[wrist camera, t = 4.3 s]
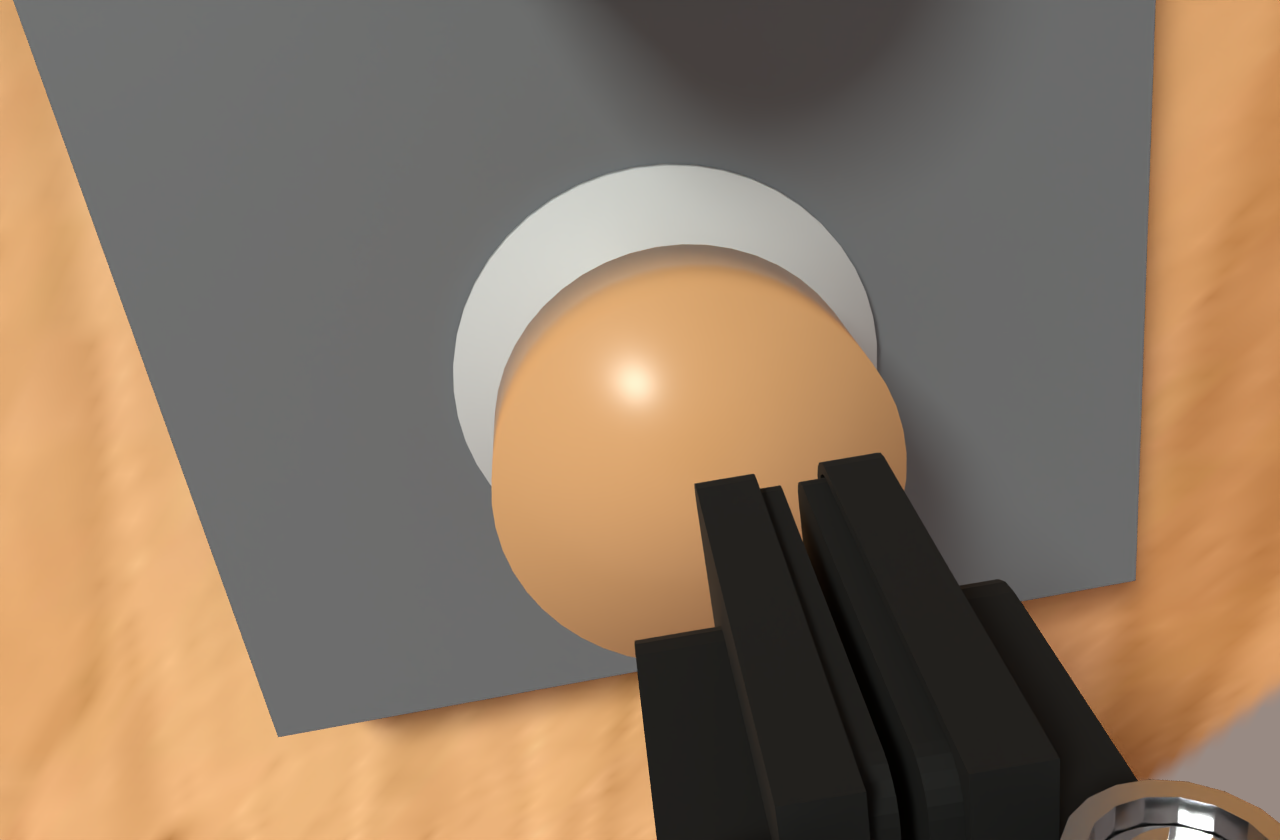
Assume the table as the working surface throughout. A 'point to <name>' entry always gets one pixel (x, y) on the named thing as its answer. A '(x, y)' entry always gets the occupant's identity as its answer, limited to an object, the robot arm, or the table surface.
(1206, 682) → the table surface
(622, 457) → the terracotta button
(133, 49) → the button board
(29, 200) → the table surface
